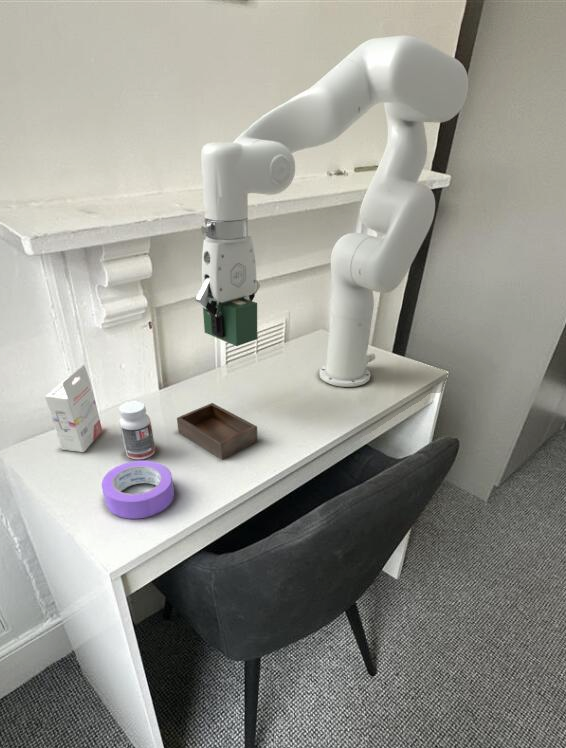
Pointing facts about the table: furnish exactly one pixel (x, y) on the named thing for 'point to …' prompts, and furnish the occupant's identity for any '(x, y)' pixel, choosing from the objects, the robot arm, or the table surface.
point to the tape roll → (141, 502)
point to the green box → (236, 321)
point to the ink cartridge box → (75, 412)
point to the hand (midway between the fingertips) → (230, 330)
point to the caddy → (217, 430)
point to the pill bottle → (136, 430)
